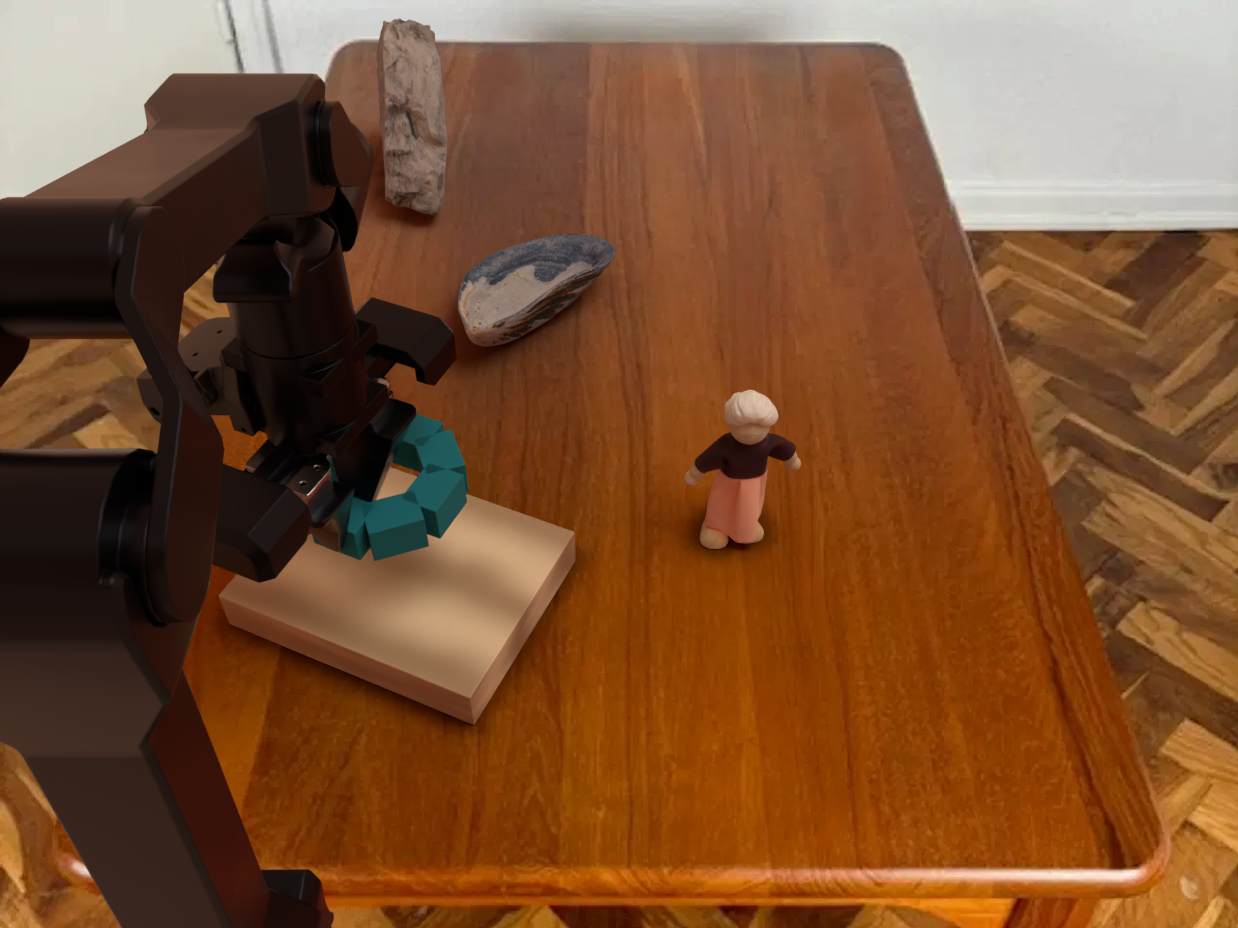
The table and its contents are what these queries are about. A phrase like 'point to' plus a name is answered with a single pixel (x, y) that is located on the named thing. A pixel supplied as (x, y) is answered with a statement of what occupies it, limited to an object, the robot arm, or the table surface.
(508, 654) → the board
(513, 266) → the seashell
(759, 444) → the grandmother figurine
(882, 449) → the table surface
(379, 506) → the ring
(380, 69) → the decorative rock
